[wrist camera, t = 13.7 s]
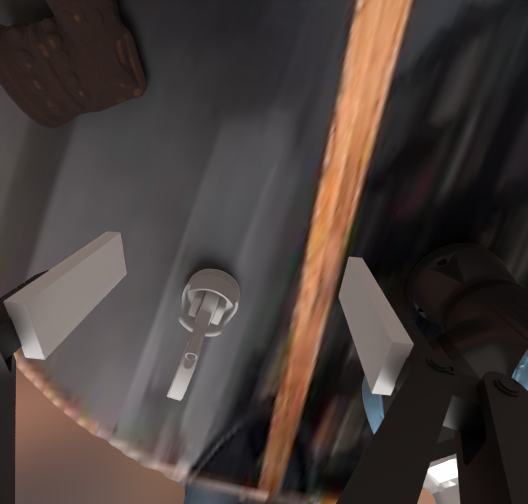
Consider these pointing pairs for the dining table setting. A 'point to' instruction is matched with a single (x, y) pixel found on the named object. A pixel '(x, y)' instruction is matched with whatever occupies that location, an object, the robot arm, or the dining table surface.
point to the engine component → (203, 318)
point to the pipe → (70, 62)
